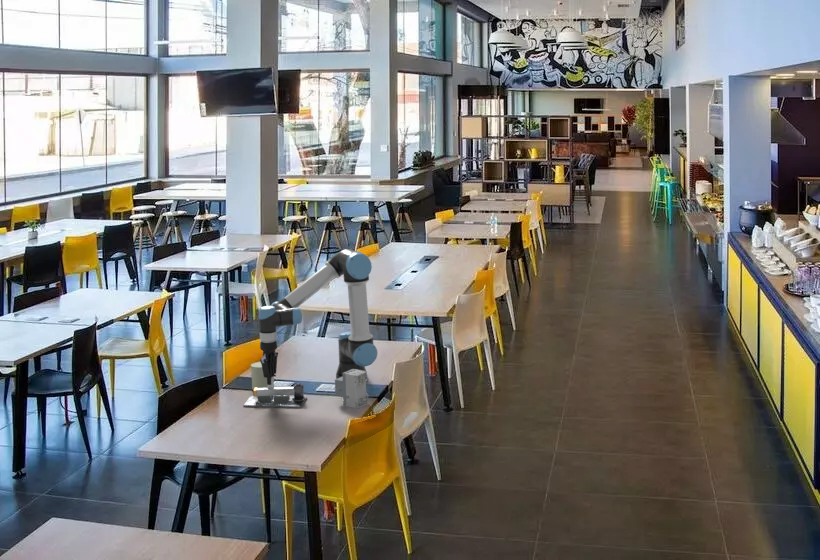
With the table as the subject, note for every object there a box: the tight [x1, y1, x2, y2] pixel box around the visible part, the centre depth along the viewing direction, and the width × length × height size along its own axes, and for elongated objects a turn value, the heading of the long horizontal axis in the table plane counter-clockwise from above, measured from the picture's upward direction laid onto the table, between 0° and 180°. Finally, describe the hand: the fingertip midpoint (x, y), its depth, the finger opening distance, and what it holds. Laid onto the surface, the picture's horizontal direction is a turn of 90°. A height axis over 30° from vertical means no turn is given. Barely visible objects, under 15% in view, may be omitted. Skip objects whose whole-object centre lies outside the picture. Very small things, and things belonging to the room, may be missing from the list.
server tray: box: [242, 395, 308, 409], centre depth 422 cm, size 26×13×3 cm, turn 83°
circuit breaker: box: [334, 369, 369, 409], centre depth 419 cm, size 8×14×15 cm, turn 55°
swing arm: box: [253, 382, 305, 399], centre depth 423 cm, size 22×4×7 cm, turn 94°
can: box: [250, 361, 267, 391], centre depth 443 cm, size 9×9×12 cm
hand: (270, 390), depth 426 cm, fingers closed
